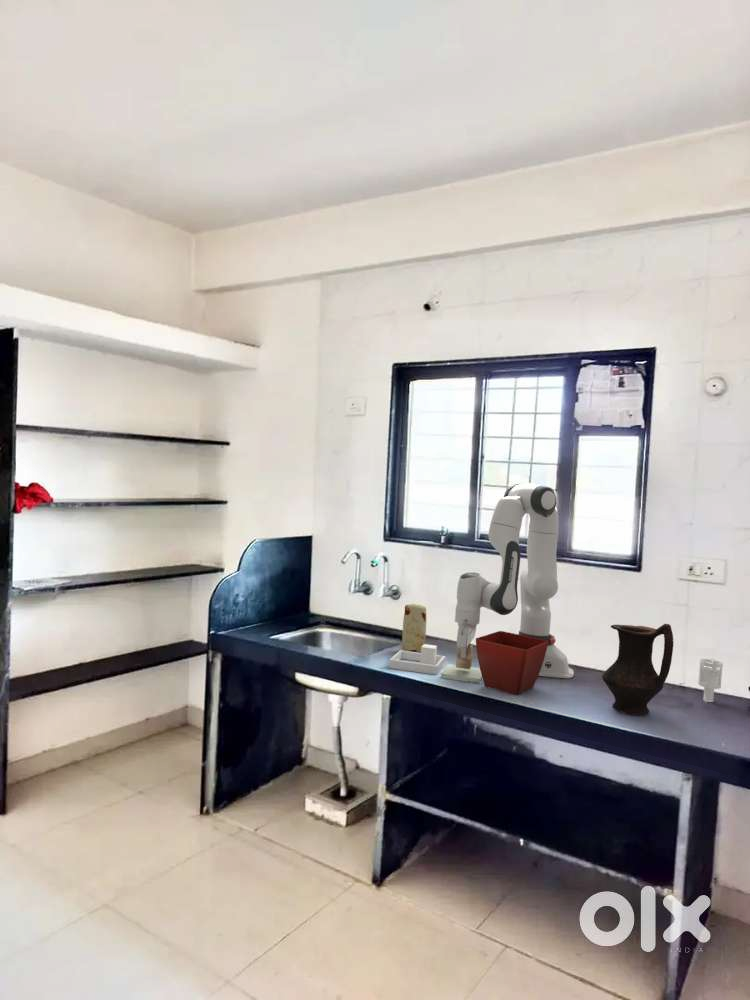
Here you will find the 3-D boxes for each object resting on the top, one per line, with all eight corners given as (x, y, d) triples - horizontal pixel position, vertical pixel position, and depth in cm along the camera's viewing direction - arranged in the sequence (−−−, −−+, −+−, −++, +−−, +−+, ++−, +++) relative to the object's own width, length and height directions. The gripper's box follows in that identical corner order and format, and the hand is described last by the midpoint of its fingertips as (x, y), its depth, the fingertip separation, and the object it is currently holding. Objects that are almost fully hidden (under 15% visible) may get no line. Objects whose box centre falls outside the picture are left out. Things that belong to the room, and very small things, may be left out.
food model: (398, 652, 276) (401, 603, 275) (404, 649, 282) (407, 601, 282) (421, 656, 272) (424, 606, 271) (427, 653, 278) (430, 604, 278)
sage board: (485, 673, 254) (485, 669, 254) (480, 683, 241) (480, 679, 240) (447, 668, 258) (448, 664, 258) (440, 677, 244) (441, 673, 244)
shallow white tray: (445, 664, 263) (445, 656, 263) (436, 674, 248) (437, 666, 248) (399, 657, 268) (400, 650, 268) (388, 667, 253) (389, 659, 253)
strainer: (700, 703, 233) (704, 659, 233) (694, 697, 240) (697, 654, 240) (722, 705, 232) (726, 661, 232) (715, 699, 239) (718, 656, 239)
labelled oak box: (471, 666, 251) (473, 643, 251) (469, 669, 246) (471, 646, 246) (458, 664, 252) (459, 641, 252) (455, 667, 247) (457, 644, 247)
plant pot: (522, 700, 224) (526, 649, 224) (471, 686, 236) (474, 638, 235) (546, 688, 240) (549, 640, 239) (496, 676, 251) (500, 630, 251)
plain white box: (435, 666, 259) (437, 645, 258) (433, 670, 254) (434, 648, 254) (422, 665, 260) (424, 644, 260) (419, 668, 255) (421, 646, 255)
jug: (588, 708, 221) (595, 615, 220) (615, 697, 234) (622, 610, 233) (653, 728, 206) (661, 628, 205) (678, 715, 219) (685, 622, 218)
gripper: (471, 624, 238) (469, 663, 238) (479, 613, 257) (477, 650, 258) (453, 621, 239) (451, 661, 240) (463, 611, 259) (460, 648, 259)
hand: (464, 655), depth 249 cm, fingers closed on labelled oak box, 5 cm apart
